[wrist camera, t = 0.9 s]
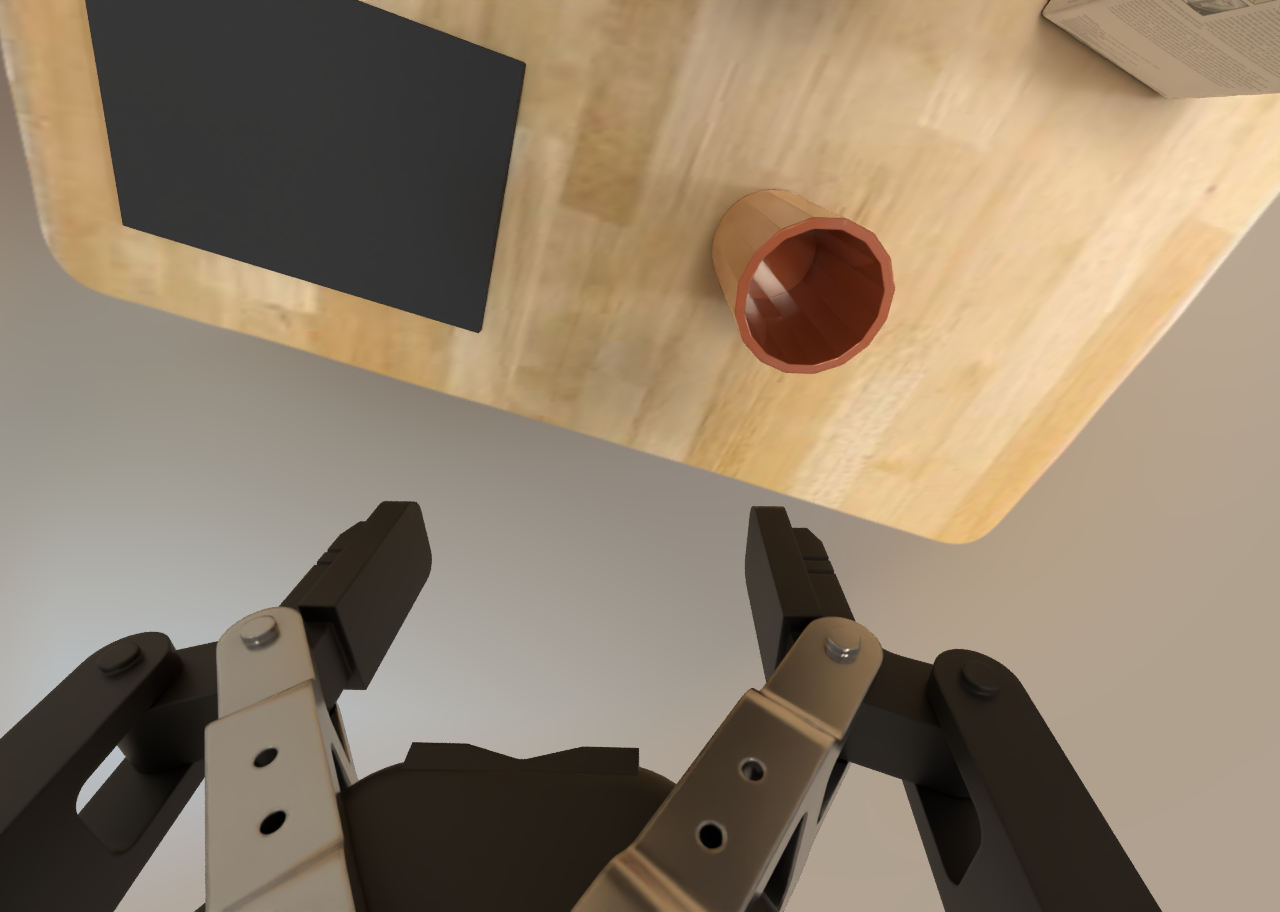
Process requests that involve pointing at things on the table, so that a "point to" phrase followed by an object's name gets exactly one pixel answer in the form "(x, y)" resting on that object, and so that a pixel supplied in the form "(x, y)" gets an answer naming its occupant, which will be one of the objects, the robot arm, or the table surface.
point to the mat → (313, 142)
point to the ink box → (1182, 42)
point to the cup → (801, 281)
